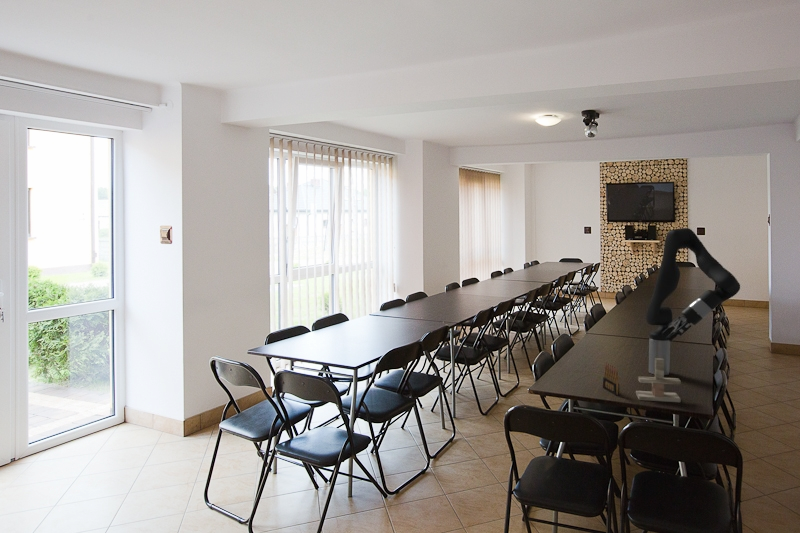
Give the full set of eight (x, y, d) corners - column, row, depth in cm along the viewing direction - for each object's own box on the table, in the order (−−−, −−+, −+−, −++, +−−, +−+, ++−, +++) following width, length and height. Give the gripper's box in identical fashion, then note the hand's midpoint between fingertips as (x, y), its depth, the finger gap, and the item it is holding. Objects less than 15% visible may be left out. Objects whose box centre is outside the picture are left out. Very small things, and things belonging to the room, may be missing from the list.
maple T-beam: (637, 379, 237) (638, 357, 237) (678, 381, 234) (678, 358, 233) (639, 382, 234) (640, 359, 233) (680, 384, 230) (681, 361, 229)
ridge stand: (635, 394, 240) (636, 378, 239) (675, 396, 236) (675, 380, 236) (639, 400, 232) (639, 383, 232) (680, 402, 229) (680, 385, 228)
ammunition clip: (619, 395, 239) (620, 368, 238) (615, 395, 239) (616, 368, 238) (606, 387, 250) (606, 361, 249) (602, 387, 249) (603, 362, 248)
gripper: (685, 302, 236) (655, 327, 240) (694, 307, 223) (662, 334, 226) (698, 314, 235) (668, 340, 239) (708, 321, 222) (676, 347, 226)
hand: (665, 337), depth 233 cm, fingers open, 8 cm apart
